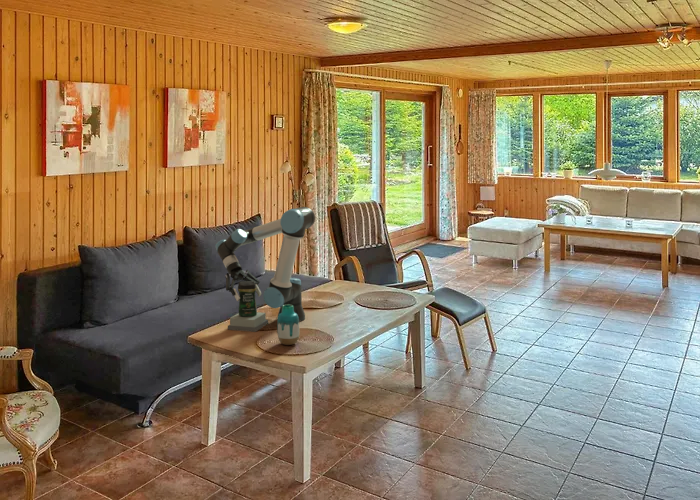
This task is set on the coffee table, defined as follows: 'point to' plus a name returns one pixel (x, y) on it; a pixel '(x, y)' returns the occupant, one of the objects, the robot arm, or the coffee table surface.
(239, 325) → the podium
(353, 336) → the coffee table surface
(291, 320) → the vase
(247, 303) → the coffee jar
